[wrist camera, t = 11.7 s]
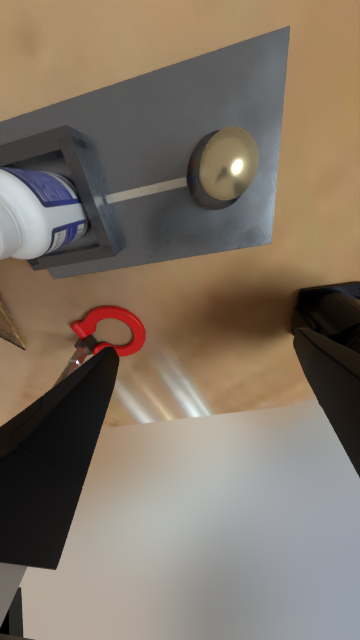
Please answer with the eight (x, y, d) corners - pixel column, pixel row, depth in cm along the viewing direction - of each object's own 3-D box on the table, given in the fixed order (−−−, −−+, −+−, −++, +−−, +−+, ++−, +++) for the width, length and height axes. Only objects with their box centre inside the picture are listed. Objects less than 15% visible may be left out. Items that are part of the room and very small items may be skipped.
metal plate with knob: (282, 39, 12) (370, -114, 6) (267, 240, 18) (301, 264, 12) (-18, 136, 15) (-151, 103, 9) (60, 275, 22) (11, 306, 16)
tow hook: (128, 295, 24) (68, 316, 25) (81, 381, 13) (-16, 405, 15) (155, 343, 28) (102, 357, 30) (137, 436, 17) (57, 449, 19)
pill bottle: (18, 174, 16) (-136, 161, 8) (78, 170, 15) (-30, 153, 8) (47, 241, 19) (-48, 275, 11) (97, 239, 18) (32, 273, 11)
